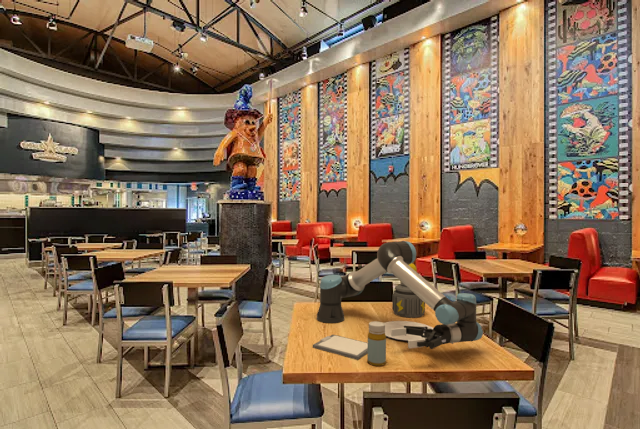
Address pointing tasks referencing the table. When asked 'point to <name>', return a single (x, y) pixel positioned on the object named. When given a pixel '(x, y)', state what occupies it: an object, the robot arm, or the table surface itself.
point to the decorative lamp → (407, 301)
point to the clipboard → (343, 346)
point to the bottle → (376, 344)
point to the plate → (401, 325)
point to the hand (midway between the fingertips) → (399, 338)
